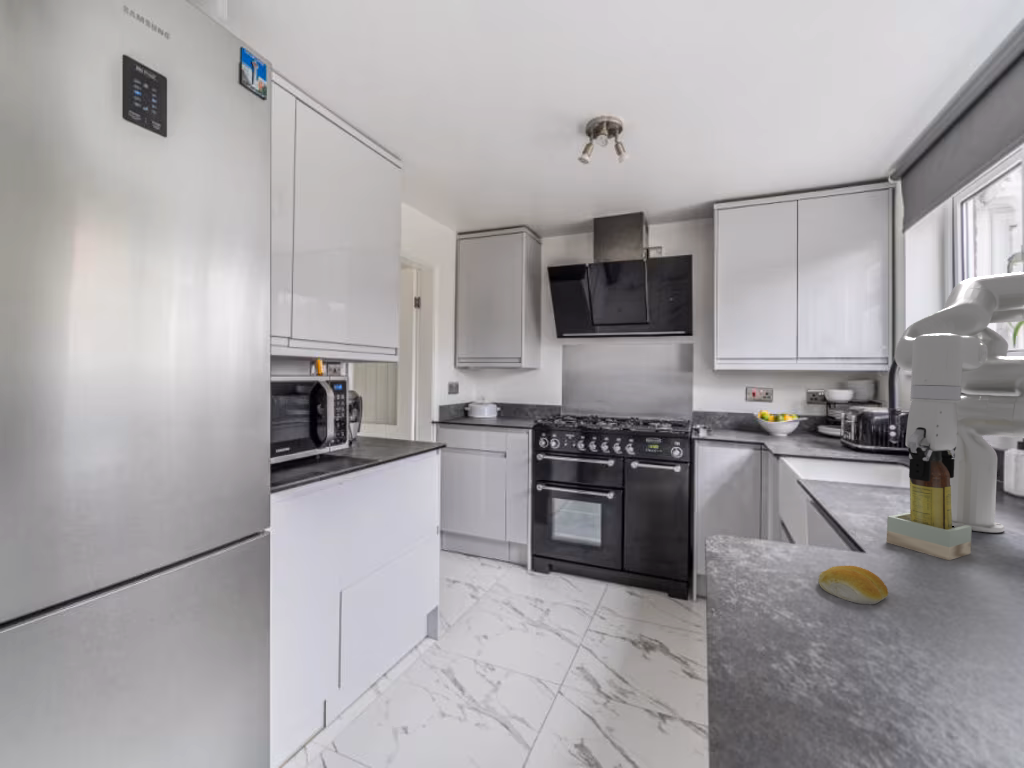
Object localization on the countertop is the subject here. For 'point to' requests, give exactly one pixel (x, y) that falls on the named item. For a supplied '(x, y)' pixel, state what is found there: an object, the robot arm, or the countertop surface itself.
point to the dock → (928, 537)
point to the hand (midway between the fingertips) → (931, 478)
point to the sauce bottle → (932, 496)
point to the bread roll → (853, 584)
